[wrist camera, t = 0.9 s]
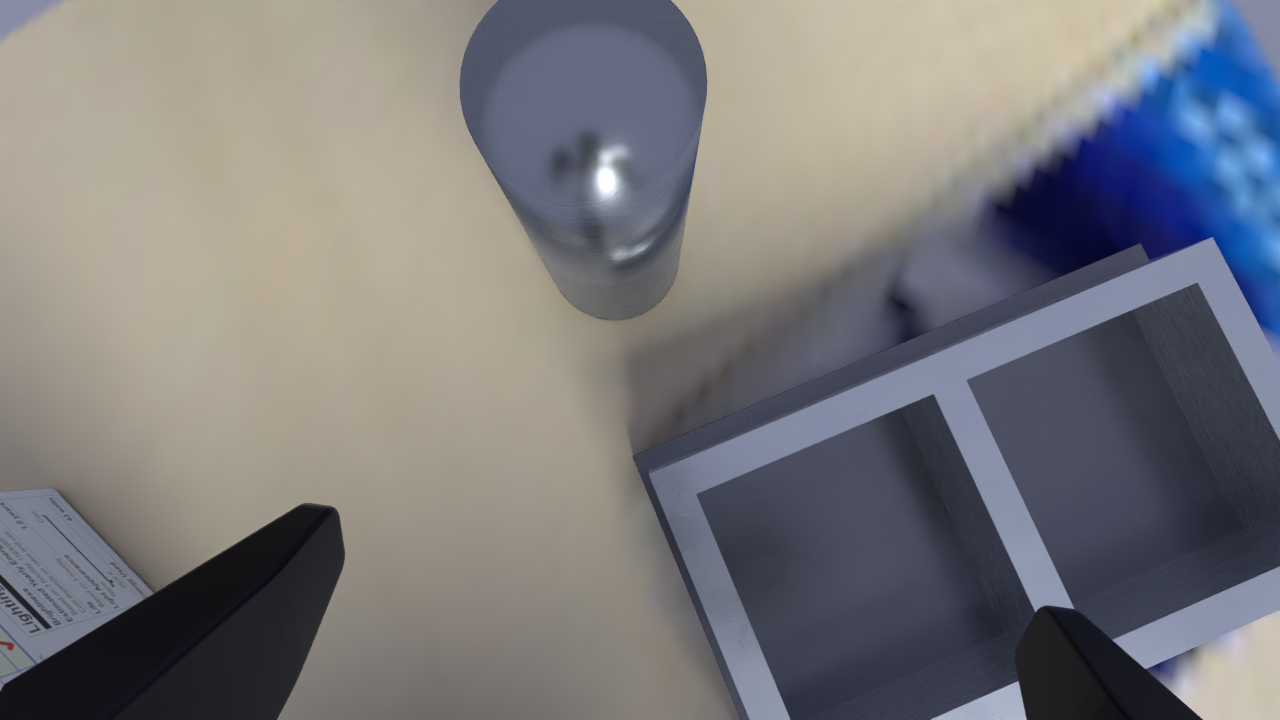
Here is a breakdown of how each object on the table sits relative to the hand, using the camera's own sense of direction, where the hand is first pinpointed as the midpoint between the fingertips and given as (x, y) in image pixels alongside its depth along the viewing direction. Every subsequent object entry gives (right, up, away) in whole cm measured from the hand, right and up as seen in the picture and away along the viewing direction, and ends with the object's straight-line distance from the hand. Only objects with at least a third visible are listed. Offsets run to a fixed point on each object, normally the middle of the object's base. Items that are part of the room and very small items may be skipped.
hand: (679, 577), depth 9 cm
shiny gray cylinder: (-1, +6, +15) cm, 17 cm away
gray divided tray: (+10, -2, +14) cm, 17 cm away
